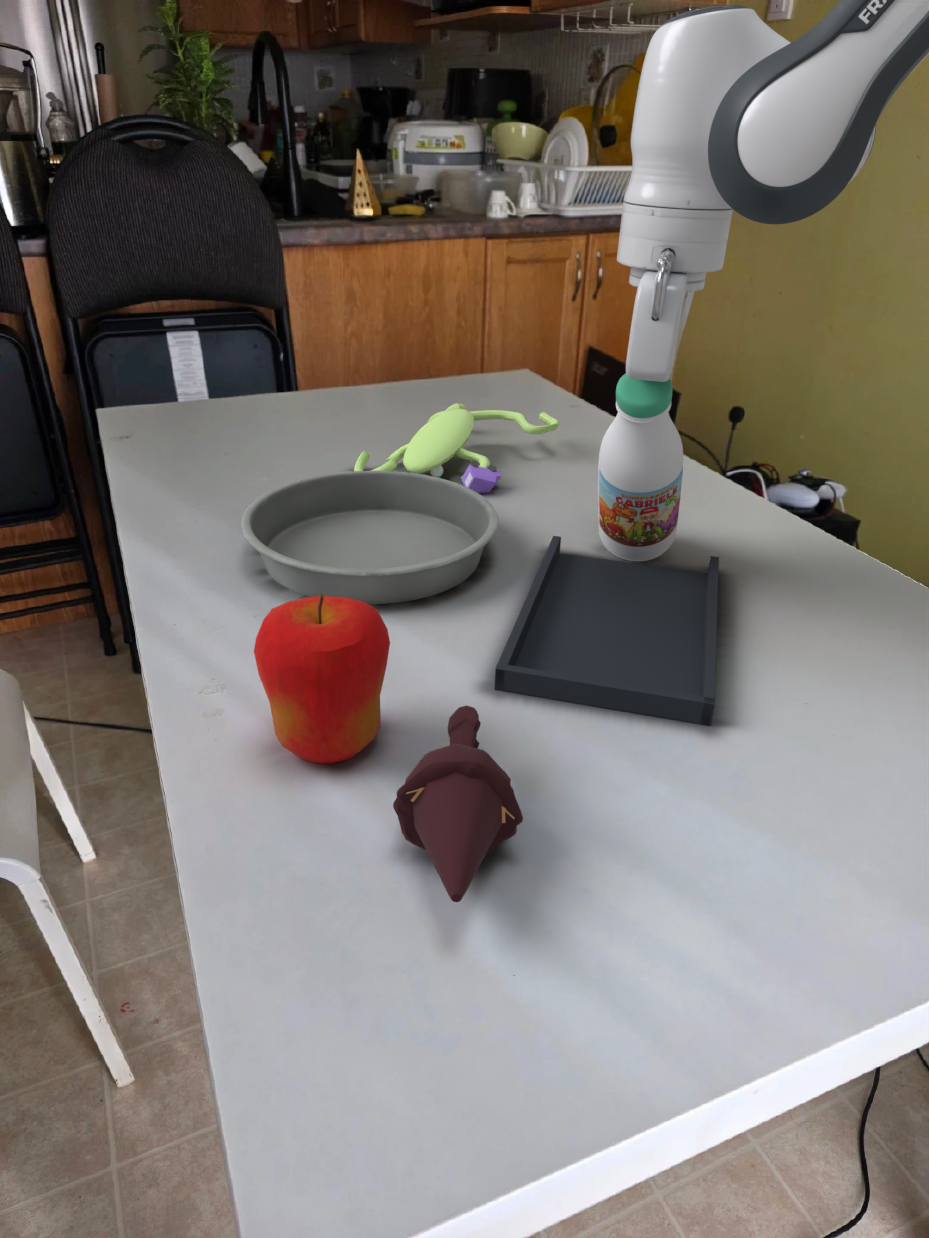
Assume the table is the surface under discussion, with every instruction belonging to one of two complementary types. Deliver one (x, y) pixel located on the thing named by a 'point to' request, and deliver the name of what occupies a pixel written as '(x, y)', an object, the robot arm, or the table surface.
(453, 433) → the figurine
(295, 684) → the apple
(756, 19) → the robot arm
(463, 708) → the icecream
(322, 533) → the cake pan
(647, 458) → the milk bottle
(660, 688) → the tray
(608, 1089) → the table surface
